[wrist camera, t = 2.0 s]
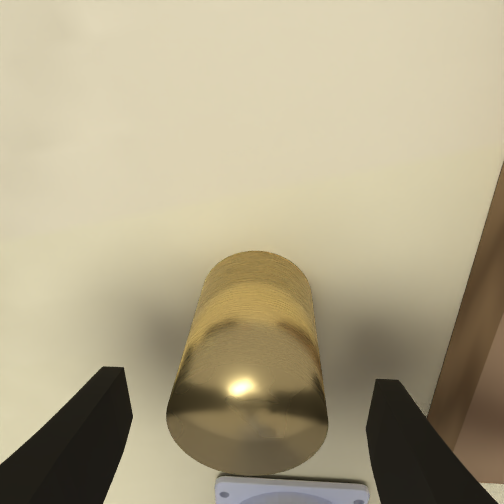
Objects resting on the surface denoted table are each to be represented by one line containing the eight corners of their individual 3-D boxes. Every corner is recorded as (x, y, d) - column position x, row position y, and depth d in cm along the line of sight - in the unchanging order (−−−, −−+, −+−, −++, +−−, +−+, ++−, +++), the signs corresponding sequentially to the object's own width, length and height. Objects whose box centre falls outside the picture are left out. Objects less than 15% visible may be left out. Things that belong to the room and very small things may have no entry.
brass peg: (307, 344, 17) (320, 480, 12) (204, 340, 18) (173, 471, 12) (315, 252, 15) (336, 367, 10) (199, 249, 15) (158, 359, 10)
